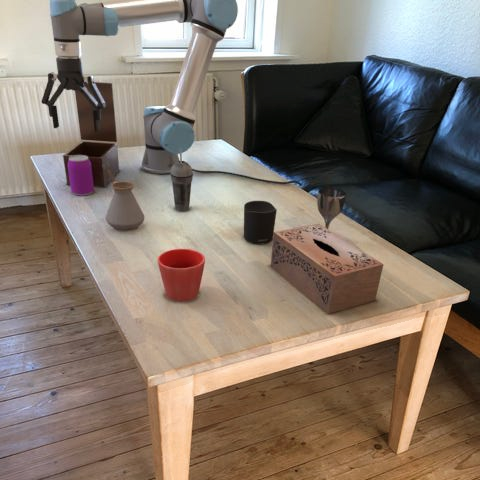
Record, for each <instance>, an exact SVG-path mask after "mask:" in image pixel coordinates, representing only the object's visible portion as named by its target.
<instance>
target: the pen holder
mask: <svg viewBox="0 0 480 480" xmlns="http://www.w3.org/2000/svg"><path fill="white" fill-rule="evenodd" d="M277 210H278V209H277V208H276V207H275V205H274V204H272V203H271V202H269V201H266V200H250V201H247V202H246V203H245V204H244V206H243V238H244V240H245V241H246V242H248V243H250V244H254V245H265V244H269V243H271V242H273V234H274V232H275V226H276V219H277Z"/></svg>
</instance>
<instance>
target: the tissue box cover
mask: <svg viewBox="0 0 480 480" xmlns="http://www.w3.org/2000/svg"><path fill="white" fill-rule="evenodd" d="M270 268H271V269H273V270H274V271H275V272H277V273H278V274H279V275H280V276H282V277H283V278H284V279H285V280H286V281H288V282H289V283H290V284H291V285H292V286H293V287H295V288H296V289H297V290H298V291H300V292H301V293H302V294H304V295H305V296H306V297H307V298H308V299H309V300H311V301H312V302H313V303H314V304H315V305H317V306H318V307H319V308H320V309H322V311H324V312H325V313H327V314H329V315H330V314H333V313H336V312H339V311H344V310H347V309H350V308H353V307H357V306H360V305H363V304H364V305H365V304H367V303H372V302H374V301H376V299H377V295H378V290H379V285H380V281H381V278H382V272H383V269H384V263H383V262H381V261H379V260H377V259H376V258H374V257H373V256H371V255H370V254H368V253H366V252H365V251H363V250H362V249H360V248H358V247H357V246H356V245H354V244H352V243H350V242H349V241H348V240H346V239H344V238H342V237H341V236H340V235H338V234H336V233H335V232H333V231H331V230H330V229H329V228H328V229H327V228H325V225H324V226H323V225H322V224H320V223H314V224H309V225H308V224H307V225H304V226H298V227H292V228H288V229H282V230H277V231H274V233H273V239H272V246H271V257H270Z"/></svg>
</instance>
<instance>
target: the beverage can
mask: <svg viewBox="0 0 480 480" xmlns="http://www.w3.org/2000/svg"><path fill="white" fill-rule="evenodd" d="M68 172H69V179H70V185H69V186H70V192H71V193H72V194H74V195H76V196H78V197H79V196H80V197H81V196H82V197H83V196H89V195H91V194H93V192H94V191H95V190H94V189H95V187H94V186H93V177H92V168H91V162H90V160H89V158H88V157H87V156H85V155H73V156H70V157H69V160H68Z"/></svg>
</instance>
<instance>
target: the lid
mask: <svg viewBox="0 0 480 480" xmlns="http://www.w3.org/2000/svg"><path fill="white" fill-rule="evenodd" d="M94 82H95V85H96V87H97V88H98V90H99V92H100V94H101V96H102V98H103V100H104V102H105V104H106V107H105V108H103V109H101V120H100V121H99V131H97V132H95V130H94V120H93V110H94V107H93V106H92V105H91V104H90V103H89V101H88V100H87V99H86V98H85V97H84V95H83V94H82V93H81V92H80V91H79V90H76V91H74V96H75V103H76V109H77V110H76V111H77V118H78V119H77V120H78V127H79V128H78V129H79V136H80V140H81V141H91V142H106V143H117V142H118V135H117V124H116V112H115V111H116V110H115V101H114V100H115V99H114V89H113V83H112V82H101V81H100V82H99V81H94ZM83 84H84V86H85V87H86V88H87V90H88V91H89V93H90V94H91V95H92V96H93V98H94V99H95V100H96V98H95V96H94V94H93V93H92V91H91V89H90V87H89V84H87V82H86V81H84V83H83ZM96 101H97V100H96Z"/></svg>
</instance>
